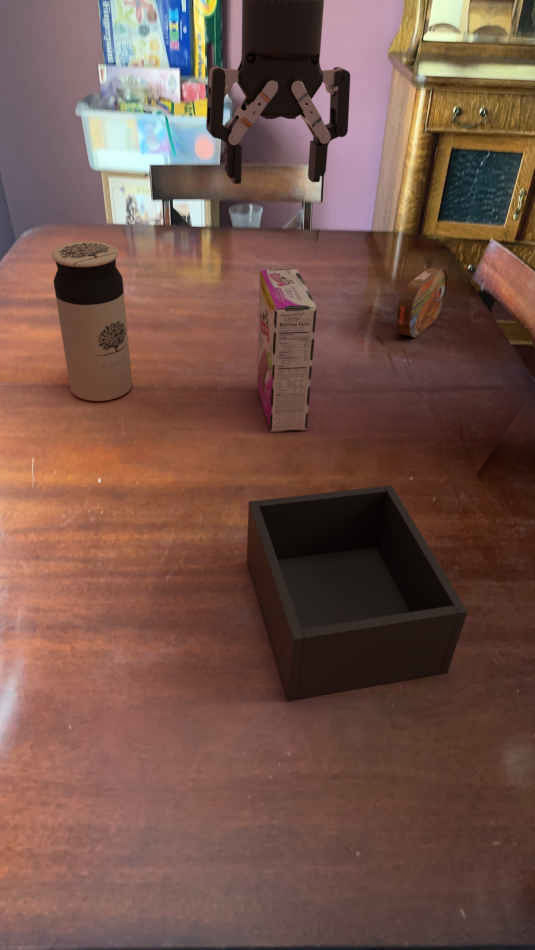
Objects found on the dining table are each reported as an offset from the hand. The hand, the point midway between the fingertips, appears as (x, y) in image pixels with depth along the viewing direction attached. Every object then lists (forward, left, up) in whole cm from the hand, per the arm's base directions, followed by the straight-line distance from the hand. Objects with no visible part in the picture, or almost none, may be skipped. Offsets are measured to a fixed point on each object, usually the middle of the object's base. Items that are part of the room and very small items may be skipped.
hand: (275, 181), depth 72 cm
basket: (+2, +36, -27) cm, 45 cm away
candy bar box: (-1, +2, -27) cm, 27 cm away
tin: (-29, -19, -27) cm, 44 cm away
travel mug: (+21, -7, -27) cm, 35 cm away
